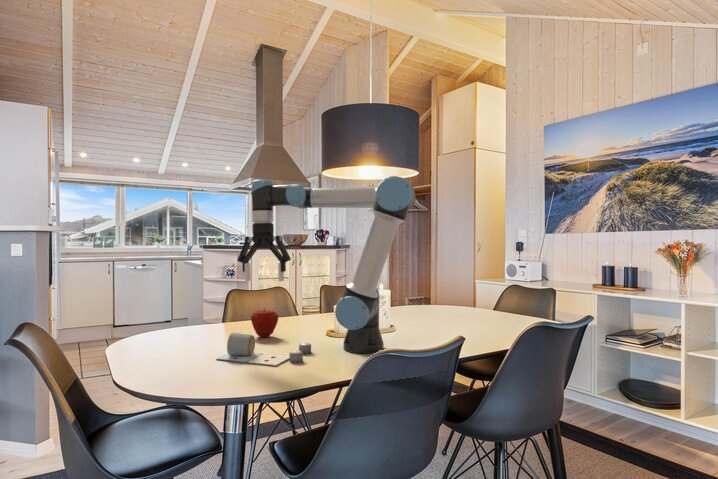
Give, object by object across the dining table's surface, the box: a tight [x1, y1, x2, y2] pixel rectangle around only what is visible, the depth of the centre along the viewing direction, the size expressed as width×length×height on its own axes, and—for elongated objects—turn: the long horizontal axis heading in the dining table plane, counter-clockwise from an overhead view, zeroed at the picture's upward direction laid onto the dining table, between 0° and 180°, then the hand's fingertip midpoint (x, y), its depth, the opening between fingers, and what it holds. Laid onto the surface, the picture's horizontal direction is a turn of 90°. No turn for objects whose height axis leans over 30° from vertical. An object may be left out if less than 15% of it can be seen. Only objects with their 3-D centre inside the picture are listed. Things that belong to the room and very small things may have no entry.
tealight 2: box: [298, 342, 312, 355], centre depth 161 cm, size 4×4×3 cm
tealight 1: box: [289, 350, 304, 364], centre depth 150 cm, size 4×4×3 cm
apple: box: [250, 308, 279, 339], centre depth 186 cm, size 11×11×12 cm
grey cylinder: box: [226, 332, 256, 356], centre depth 157 cm, size 11×8×8 cm
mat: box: [216, 352, 290, 368], centre depth 152 cm, size 23×12×1 cm, turn 71°
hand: (264, 281), depth 162 cm, fingers open, 13 cm apart
